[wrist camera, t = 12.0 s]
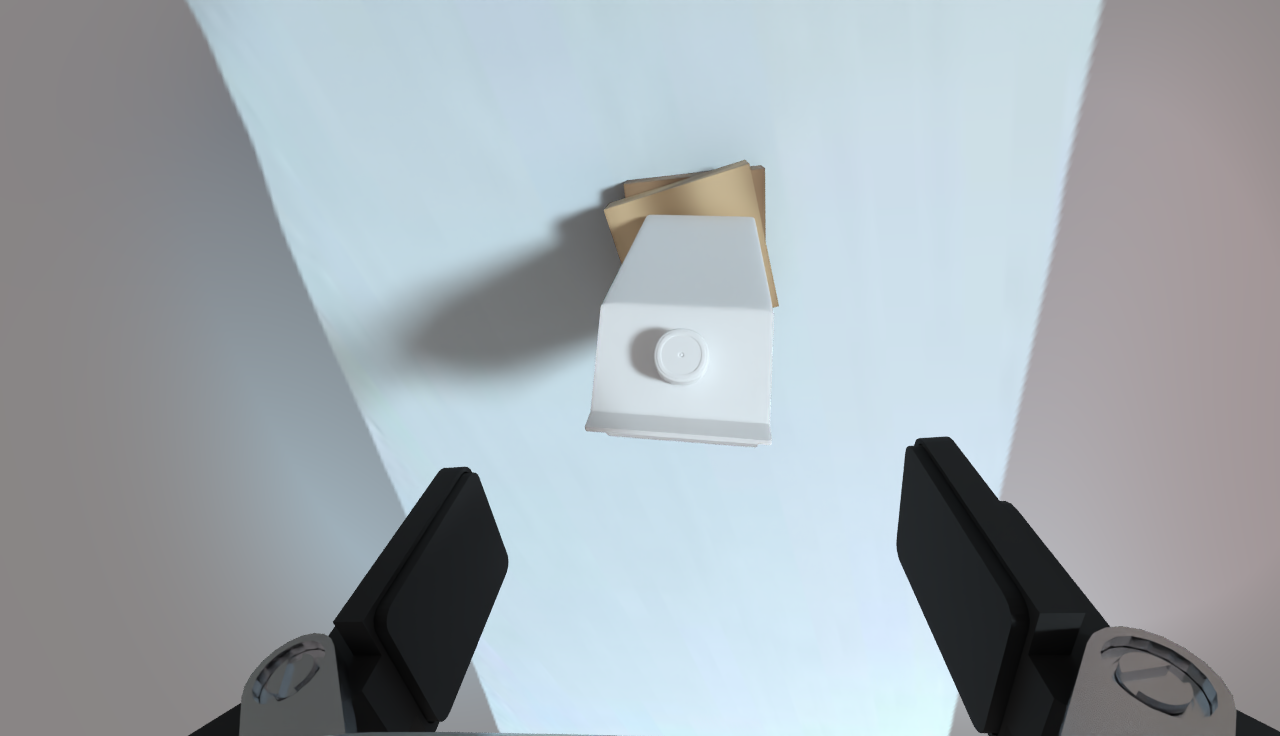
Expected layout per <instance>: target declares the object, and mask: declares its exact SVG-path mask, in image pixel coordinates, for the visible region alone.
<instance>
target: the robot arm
mask: <svg viewBox="0 0 1280 736" xmlns="http://www.w3.org/2000/svg"><path fill="white" fill-rule="evenodd" d="M896 545H897V553H898V557H899V560H900V562H901V565H902V567H903V569H904V571H905V574H906V576H907V578H908V580H909V582H910V585H911V587H912V589H913V591H914V594H915V596H916V598H917V600H918V603H919V605H920V607H921V609H922V612H923V614H924V616H925V618H926V620H927V623H928V625H929V627H930V629H931V632H932V634H933V636H934V638H935V641H936V643H937V645H938V647H939V650H940V652H941V654H942V656H943V658H944V661H945V663H946V665H947V667H948V670H949V672H950V674H951V676H952V679H953V681H954V683H955V685H956V688H957V690H958V692H959V694H960V696H961V698H962V701H963V703H964V705H965V708H966V710H967V712H968V714H969V717H970V719H971V721H972V723H973V725H974V727H975V728H976V730H977V731H978V732H980V733H988V735H989V736H1280V732H1279V731H1277V730H1275V729H1273V728H1271V727H1269V726H1267V725H1266V724H1264V723H1261V722H1259V721H1257V720H1256V719H1254V718H1252V717H1250V716H1248V715H1246V714H1244V713H1242V712H1240V711H1238V710H1236V707H1235V703H1234V699H1233V695H1232V694H1231V692H1230V691H1229V689H1228V688H1227V686H1226V684H1225V683H1224V681H1223V680H1222V679H1221V677H1219V676H1218V675H1217V674H1216V673H1215V672H1214V671H1213V670H1212V669H1211V668H1210V667H1209V666H1208V665H1207V664H1206V663H1205V662H1204V661H1202V660H1201V659H1200V658H1198V657H1197V656H1195V655H1194V654H1193V653H1191V652H1190V651H1188V650H1187V649H1186V648H1184V647H1182V646H1180V645H1178V644H1176V643H1174V642H1172V641H1170V640H1168V639H1166V638H1164V637H1162V636H1159V635H1156V634H1153V633H1150V632H1147V631H1144V630H1142V629H1136V628H1129V627H1123V626H1119V627H1110V626H1109V625H1108V623H1107V622H1106V621H1105V620H1104V618H1103V617H1102V616H1101V615H1100V613H1099V612H1098V611H1097V610H1096V608H1095V607H1094V606H1093V604H1092V603H1091V602H1090V601H1089V599H1088V598H1087V597H1086V596H1085V594H1084V593H1083V592H1082V591H1081V590H1080V588H1079V587H1078V586H1077V584H1076V583H1075V582H1074V581H1073V579H1072V578H1071V577H1070V576H1069V574H1068V573H1067V572H1066V571H1065V569H1064V568H1063V567H1062V565H1061V564H1060V563H1059V562H1058V560H1057V559H1056V558H1055V557H1054V555H1053V554H1052V553H1051V552H1050V550H1049V549H1048V548H1047V547H1046V545H1045V544H1044V543H1043V542H1042V540H1041V539H1040V538H1039V537H1038V535H1037V534H1036V533H1035V532H1034V530H1033V529H1032V528H1031V527H1030V525H1029V524H1028V523H1027V521H1026V520H1025V519H1024V518H1023V516H1022V515H1021V514H1020V513H1019V511H1018V510H1017V509H1016V508H1015V507H1014V506H1013V505H1012V504H1011V503H1008V502H1006V501H999V500H998V498H997V497H996V496H995V494H994V493H993V492H992V490H991V489H990V488H989V487H988V485H987V484H986V483H985V481H984V480H983V479H982V477H981V476H980V475H979V474H978V472H977V471H976V470H975V468H974V467H973V466H972V464H971V463H970V462H969V460H968V459H967V458H966V457H965V455H964V454H963V453H962V451H961V450H960V449H959V447H958V446H957V445H956V444H955V442H954V441H953V440H952V439H951V438H950V437H932V438H919V439H917V440H916V442H915V445H914V446H908V447H907V448H906V452H905V462H904V472H903V482H902V492H901V502H900V512H899V522H898V532H897V543H896ZM507 569H508V555H507V552H506V549H505V547H504V544H503V541H502V539H501V536H500V533H499V530H498V528H497V525H496V522H495V519H494V517H493V514H492V511H491V508H490V506H489V503H488V500H487V497H486V495H485V492H484V489H483V486H482V484H481V481H480V478H479V476H478V474H476V473H472V471H471V470H470V469H469V468H468V467H454V468H443V469H441V470H440V471H439V472H438V473H437V475H436V476H435V478H434V479H433V481H432V482H431V483H430V485H429V486H428V488H427V489H426V491H425V492H424V493H423V495H422V496H421V498H420V499H419V500H418V502H417V503H416V505H415V506H414V508H413V509H412V510H411V512H410V513H409V515H408V516H407V518H406V519H405V520H404V522H403V523H402V525H401V526H400V527H399V529H398V530H397V532H396V533H395V535H394V536H393V537H392V539H391V540H390V542H389V543H388V545H387V546H386V548H385V549H384V550H383V552H382V553H381V554H380V556H379V557H378V559H377V560H376V562H375V563H374V564H373V566H372V567H371V569H370V570H369V572H368V573H367V574H366V576H365V577H364V579H363V580H362V581H361V583H360V584H359V586H358V587H357V589H356V590H355V591H354V593H353V594H352V596H351V597H350V599H349V600H348V602H347V603H346V604H345V606H344V607H343V608H342V610H341V611H340V613H339V614H338V616H337V617H336V618H335V620H334V621H333V623H334V625H335V627H334V629H333V630H332V632H331V633H330V634H329V636H327V635H325V634H317V633H313V634H308V635H303V636H300V637H298V638H296V639H293V640H291V641H289V642H287V643H286V644H284V645H283V646H281V647H279V648H278V649H276V650H275V651H274V652H272V654H270V655H269V656H268V657H267V658H265V659H264V660H263V661H262V662H261V664H260V665H259V666H258V667H257V668H256V669H255V671H254V672H253V673H252V674H251V676H250V678H249V679H248V681H247V683H246V684H245V686H244V690H243V694H242V698H241V703H240V704H239V705H237V706H235V707H234V708H232V709H230V710H229V711H227V712H226V713H224V714H222V715H221V716H219V717H218V718H216V719H214V720H213V721H211V722H210V723H208V724H206V725H205V726H203V727H202V728H200V729H198V730H197V731H195V732H193V733H192V734H190V735H189V736H615V735H572V734H519V733H463V732H462V733H460V732H435V731H436V729H437V727H438V724H439V722H442V721H444V720H445V719H446V718H447V717H448V714H449V712H450V710H451V708H452V706H453V703H454V700H455V698H456V695H457V693H458V691H459V688H460V686H461V683H462V681H463V678H464V676H465V674H466V671H467V669H468V666H469V664H470V661H471V659H472V656H473V654H474V651H475V649H476V647H477V644H478V642H479V639H480V637H481V634H482V632H483V629H484V627H485V624H486V622H487V619H488V617H489V615H490V612H491V610H492V607H493V605H494V602H495V600H496V597H497V595H498V592H499V590H500V587H501V585H502V583H503V580H504V578H505V575H506V573H507Z"/></svg>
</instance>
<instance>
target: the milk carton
mask: <svg viewBox="0 0 1280 736" xmlns="http://www.w3.org/2000/svg"><path fill="white" fill-rule="evenodd" d="M773 331H774V313H773V308H772V302H771V297H770V292H769V287H768V282H767V277H766V272H765V267H764V262H763V257H762V252H761V247H760V242H759V237H758V232H757V227H756V223H755V219H754V218H753V217H740V216H693V215H648V216H647V217H646V218H645V220H644V222H643V224H642V226H641V228H640V230H639V232H638V234H637V236H636V238H635V240H634V242H633V244H632V246H631V248H630V250H629V252H628V254H627V256H626V258H625V259H624V261H623V263H622V265H621V267H620V269H619V271H618V273H617V275H616V277H615V279H614V281H613V283H612V285H611V287H610V289H609V291H608V293H607V295H606V297H605V299H604V301H603V304H602V305H601V309H600V319H599V330H598V340H597V350H596V361H595V371H594V381H593V391H592V402H591V412H590V414H589V417H588V420H587V422H586V425H585V430H586V431H592V432H605V433H607V434H608V435H609V436H616V437H628V438H641V439H654V440H667V441H680V442H692V443H705V444H718V445H731V446H744V447H757V445H758V444H761V445H771V444H772V436H771V429H770V411H771V384H772V358H773Z"/></svg>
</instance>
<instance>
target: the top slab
mask: <svg viewBox="0 0 1280 736" xmlns="http://www.w3.org/2000/svg"><path fill="white" fill-rule="evenodd" d="M604 213H605V216H606V219H607V222H608V225H609V228H610V231H611V234H612V237H613V240H614V243H615V246H616V249H617V252H618V255H619V258H620V261H621V264H622V263H623V261H624V259H625V258H626V256H627V254H628V252H629V250H630V248H631V246H632V244H633V242H634V240H635V238H636V236H637V234H638V232H639V230H640V228H641V226H642V224H643V222H644V220H645V218H646V217H647V216H648V215H693V216H740V217H753V218H754V219H755V223H756V227H757V232H758V237H759V242H760V247H761V252H762V257H763V262H764V267H765V272H766V277H767V282H768V287H769V292H770V297H771V302H772V308H774V307H777V306H779V304H778V300H777V295H776V290H775V285H774V280H773V275H772V271H771V266H770V261H769V256H768V251H767V246H766V242H765V237H764V232H763V227H762V222H761V218H760V213H759V208H758V203H757V198H756V193H755V189H754V184H753V179H752V174H751V169H750V165H749V163H748V162H747V161H746V160H743V161H740V162H736V163H733V164H730V165H727V166H724V167H721V168H718V169H715V170H711V171H708V172H705V173H702V174H699V175H696V176H693V177H690V178H686V179H683V180H680V181H677V182H674V183H671V184H668V185H665V186H661V187H658V188H655V189H652V190H649V191H646V192H643V193H639V194H636V195H633V196H630V197H627V198H624V199H621V200H618V201H614V202H611V203H609V205H608V206H607V207H606V208H605V209H604Z"/></svg>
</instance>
